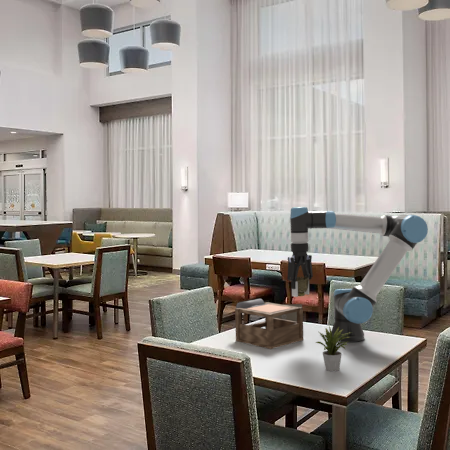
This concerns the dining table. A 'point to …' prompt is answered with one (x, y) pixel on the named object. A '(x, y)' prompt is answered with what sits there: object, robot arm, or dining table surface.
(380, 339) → the dining table surface
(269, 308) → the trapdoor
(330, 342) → the house plant
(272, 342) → the wooden slatted crate
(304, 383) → the dining table surface
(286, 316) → the laptop
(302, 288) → the cup
